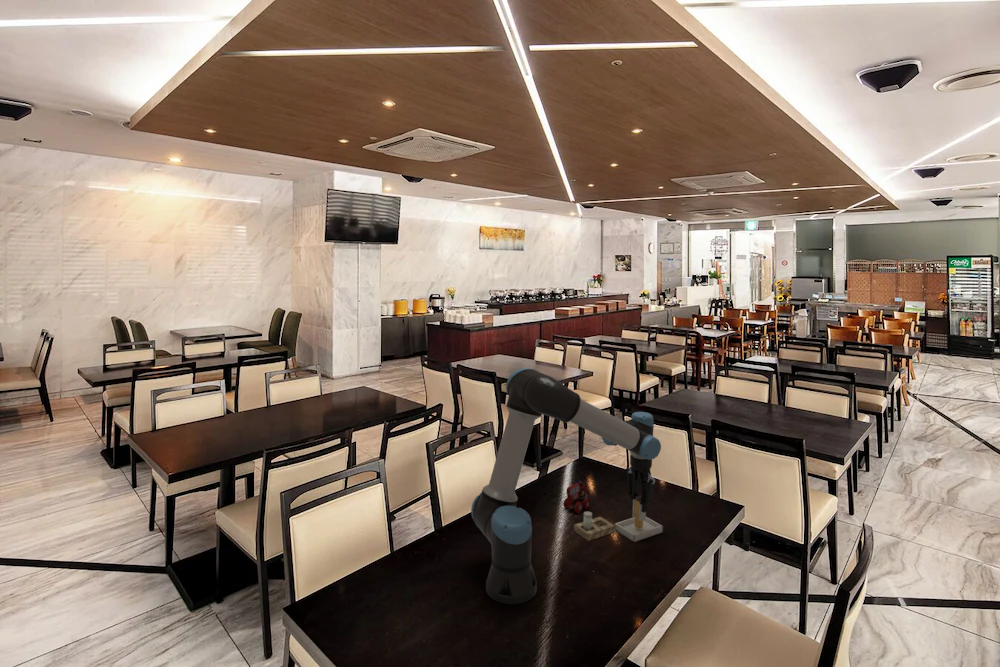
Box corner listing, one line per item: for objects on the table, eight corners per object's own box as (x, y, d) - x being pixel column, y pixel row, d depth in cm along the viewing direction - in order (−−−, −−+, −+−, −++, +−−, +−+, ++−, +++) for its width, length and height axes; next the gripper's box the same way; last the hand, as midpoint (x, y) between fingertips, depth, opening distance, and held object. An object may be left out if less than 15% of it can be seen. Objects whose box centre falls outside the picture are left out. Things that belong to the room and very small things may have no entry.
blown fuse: (638, 528, 186) (639, 499, 185) (632, 525, 189) (633, 496, 188) (644, 526, 188) (646, 498, 186) (639, 523, 190) (640, 494, 189)
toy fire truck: (593, 506, 208) (594, 481, 207) (574, 516, 200) (575, 490, 198) (579, 500, 213) (579, 476, 212) (560, 510, 205) (561, 485, 203)
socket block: (588, 541, 181) (588, 534, 181) (573, 531, 188) (574, 524, 188) (615, 532, 188) (615, 525, 187) (600, 522, 194) (600, 516, 194)
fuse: (586, 536, 184) (587, 516, 183) (581, 533, 187) (582, 512, 186) (593, 534, 186) (594, 514, 185) (588, 531, 188) (588, 510, 187)
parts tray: (634, 542, 181) (634, 535, 180) (614, 529, 189) (614, 523, 189) (662, 532, 188) (662, 525, 187) (642, 520, 196) (642, 514, 196)
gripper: (665, 460, 180) (662, 524, 183) (633, 447, 193) (631, 506, 196) (649, 464, 176) (647, 529, 179) (618, 450, 190) (616, 511, 193)
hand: (639, 517), depth 188 cm, fingers closed on blown fuse, 2 cm apart
